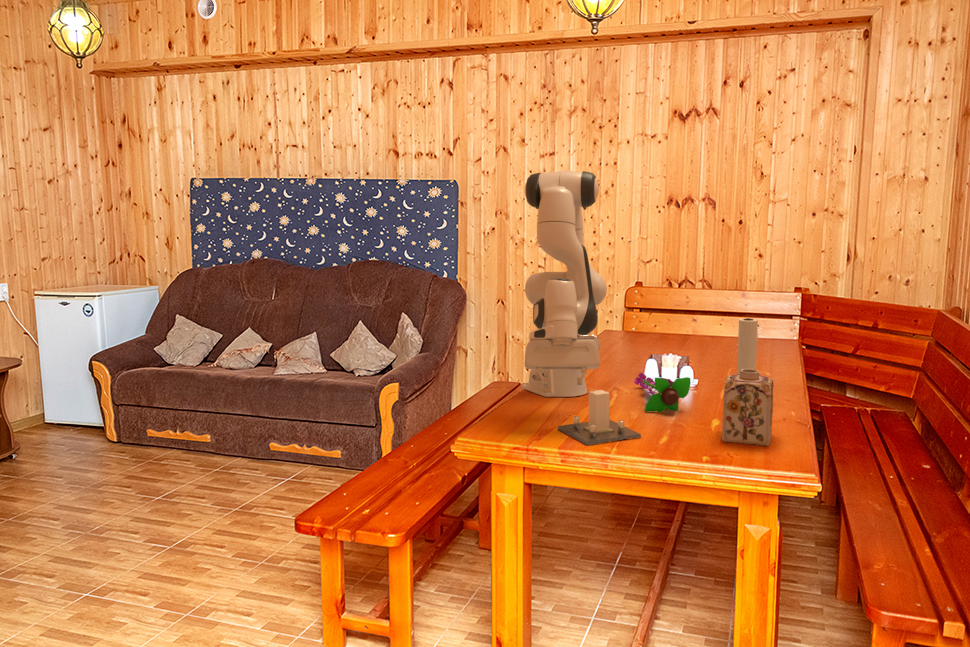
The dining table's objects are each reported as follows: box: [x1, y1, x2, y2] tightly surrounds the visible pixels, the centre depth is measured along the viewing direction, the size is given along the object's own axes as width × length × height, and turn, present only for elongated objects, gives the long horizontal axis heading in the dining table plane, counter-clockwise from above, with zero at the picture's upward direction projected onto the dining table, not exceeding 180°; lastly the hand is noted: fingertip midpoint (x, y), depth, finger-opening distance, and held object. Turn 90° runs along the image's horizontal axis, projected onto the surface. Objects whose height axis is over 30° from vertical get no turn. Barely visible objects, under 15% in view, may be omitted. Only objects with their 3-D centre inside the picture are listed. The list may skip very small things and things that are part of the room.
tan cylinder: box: [736, 317, 759, 374], centre depth 272 cm, size 7×6×21 cm
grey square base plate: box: [557, 415, 642, 446], centre depth 216 cm, size 16×16×4 cm
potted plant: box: [633, 372, 692, 413], centre depth 250 cm, size 12×16×35 cm
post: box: [588, 389, 611, 432], centre depth 215 cm, size 4×4×10 cm
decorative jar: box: [721, 369, 774, 447], centre depth 209 cm, size 12×12×18 cm
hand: (562, 385), depth 217 cm, fingers open, 8 cm apart
